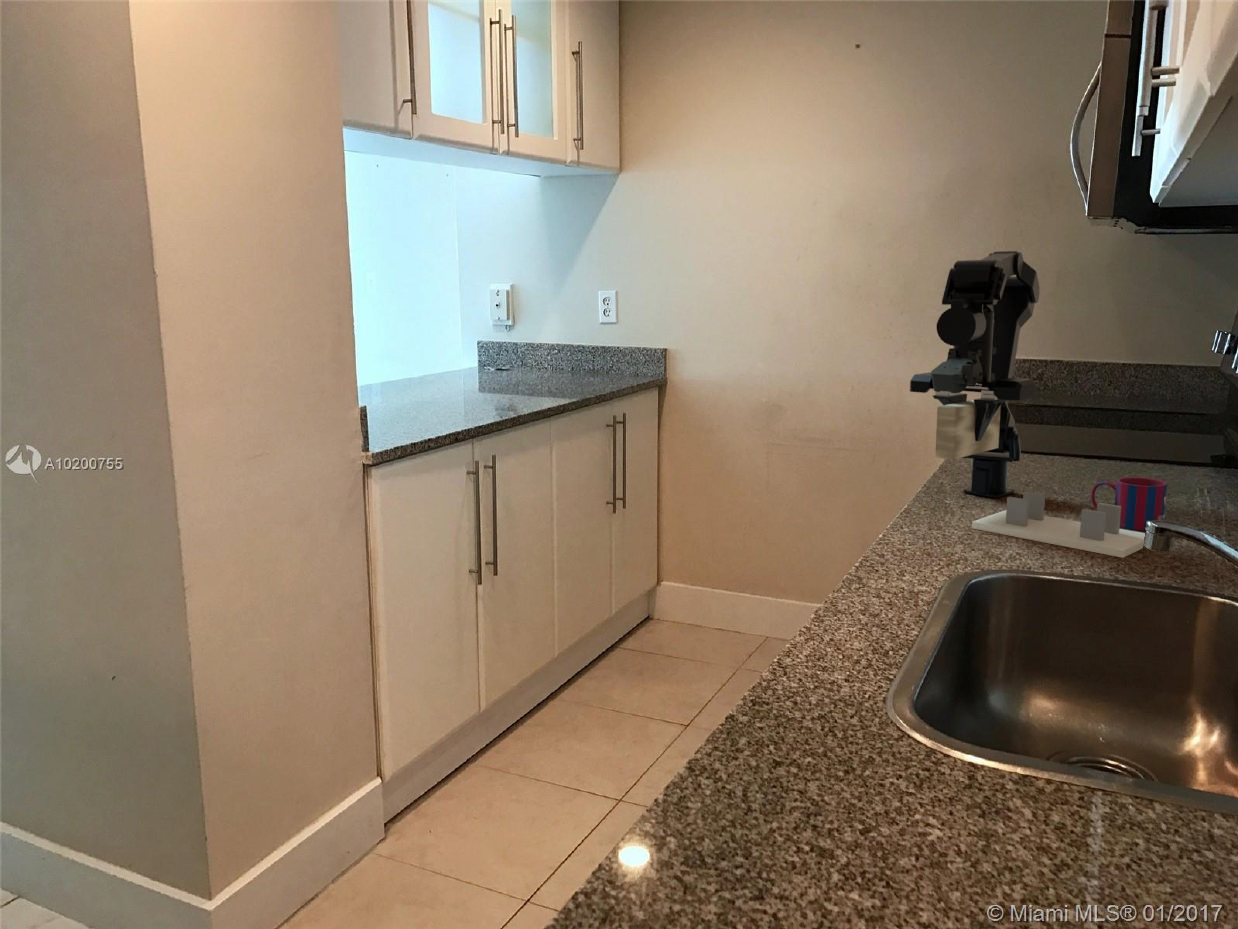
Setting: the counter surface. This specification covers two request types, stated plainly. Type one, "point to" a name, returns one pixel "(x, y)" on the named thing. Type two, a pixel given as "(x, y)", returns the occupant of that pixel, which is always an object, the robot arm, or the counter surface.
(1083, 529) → the white slotted rack
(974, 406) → the wooden block
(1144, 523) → the mug
